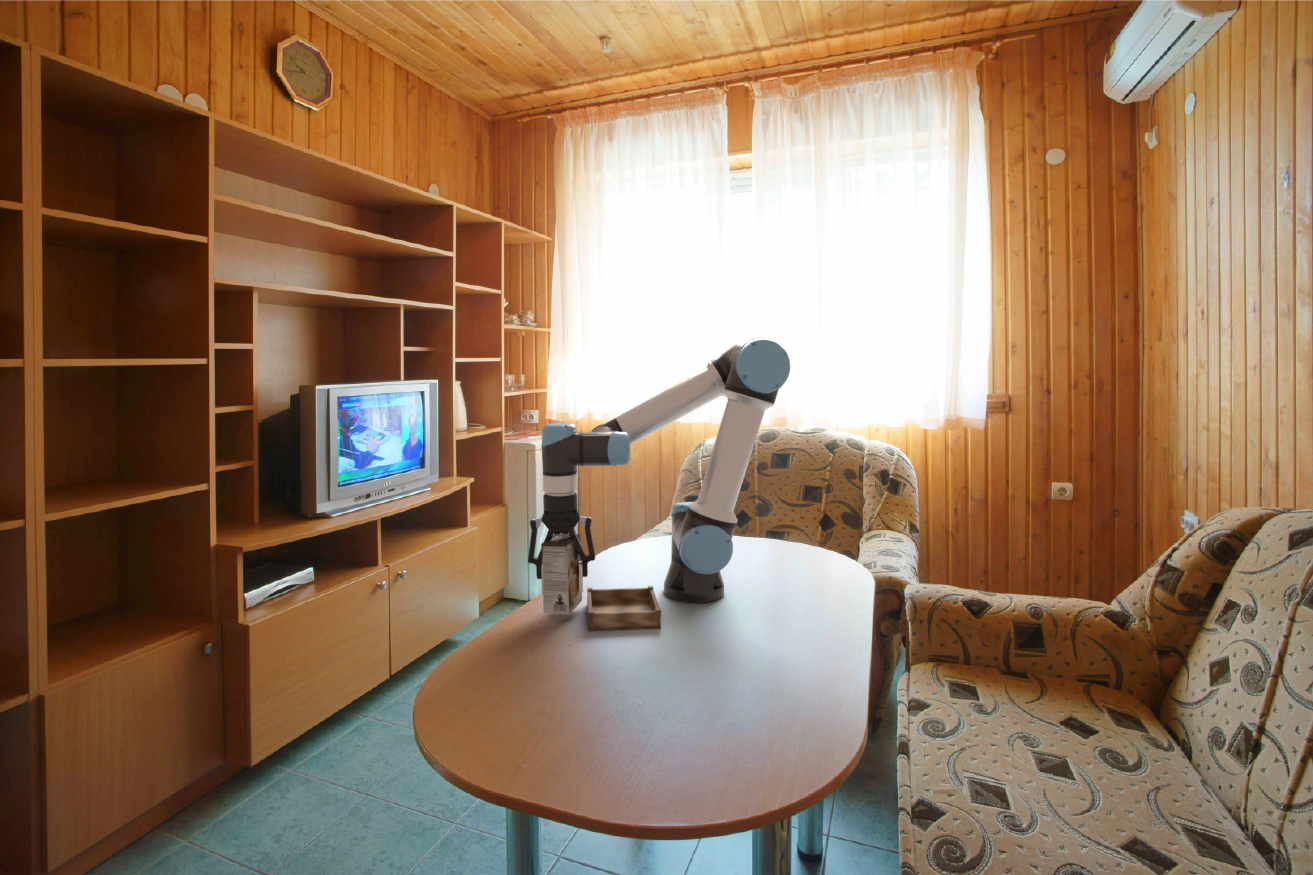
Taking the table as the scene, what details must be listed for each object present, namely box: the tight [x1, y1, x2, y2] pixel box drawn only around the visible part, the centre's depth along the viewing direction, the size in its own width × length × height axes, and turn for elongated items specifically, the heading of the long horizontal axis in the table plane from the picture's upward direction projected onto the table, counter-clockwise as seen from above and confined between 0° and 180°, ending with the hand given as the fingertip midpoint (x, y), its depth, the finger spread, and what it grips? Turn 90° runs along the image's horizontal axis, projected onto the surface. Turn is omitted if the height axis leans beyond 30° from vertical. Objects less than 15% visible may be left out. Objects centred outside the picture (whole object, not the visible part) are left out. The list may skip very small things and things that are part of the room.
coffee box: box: [540, 533, 583, 616], centre depth 154 cm, size 9×6×16 cm
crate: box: [586, 585, 662, 632], centre depth 154 cm, size 16×16×4 cm
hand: (562, 591), depth 154 cm, fingers closed on coffee box, 8 cm apart
